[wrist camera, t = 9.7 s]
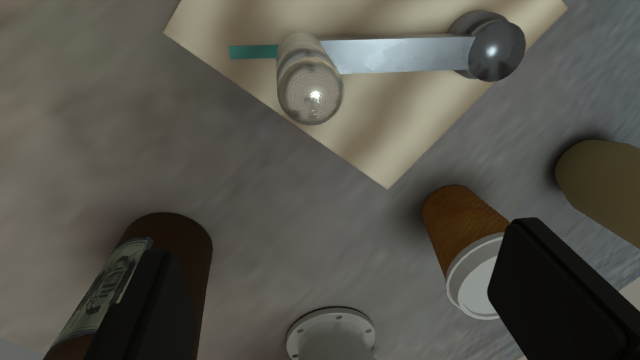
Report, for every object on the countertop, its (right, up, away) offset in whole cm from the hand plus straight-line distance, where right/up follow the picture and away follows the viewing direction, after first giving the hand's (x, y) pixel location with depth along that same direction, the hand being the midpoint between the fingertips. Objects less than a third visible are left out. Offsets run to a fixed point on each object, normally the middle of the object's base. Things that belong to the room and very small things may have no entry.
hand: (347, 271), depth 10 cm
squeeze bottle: (+28, +5, +30) cm, 41 cm away
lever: (+5, +13, +18) cm, 23 cm away
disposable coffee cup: (+14, 0, +31) cm, 34 cm away
